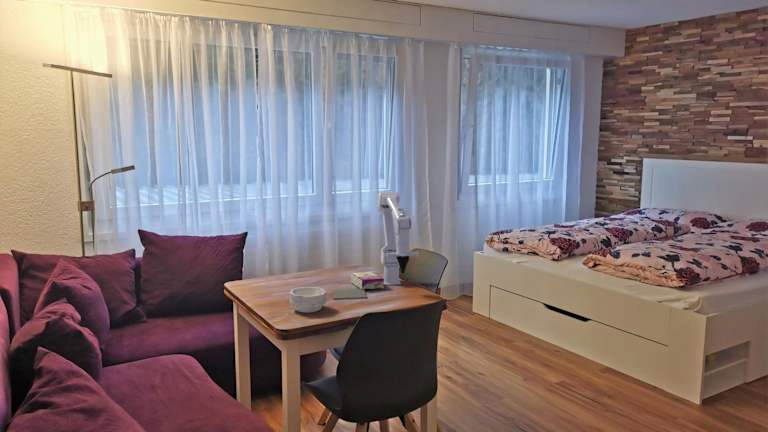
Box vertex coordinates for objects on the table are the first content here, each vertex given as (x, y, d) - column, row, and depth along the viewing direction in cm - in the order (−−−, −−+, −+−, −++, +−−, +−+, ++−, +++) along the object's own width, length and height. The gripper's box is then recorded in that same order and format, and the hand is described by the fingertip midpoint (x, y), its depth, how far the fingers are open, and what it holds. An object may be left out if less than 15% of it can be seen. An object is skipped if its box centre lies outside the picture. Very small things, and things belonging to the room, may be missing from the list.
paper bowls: (334, 309, 247) (334, 291, 246) (304, 317, 236) (304, 298, 235) (311, 302, 258) (311, 284, 256) (282, 309, 247) (282, 290, 246)
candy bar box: (384, 289, 278) (371, 281, 293) (384, 278, 277) (372, 271, 292) (361, 290, 274) (350, 282, 289) (361, 279, 273) (350, 272, 288)
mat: (332, 290, 275) (332, 289, 275) (363, 289, 277) (363, 288, 276) (333, 299, 261) (333, 298, 261) (366, 298, 263) (366, 297, 263)
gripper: (387, 245, 264) (387, 275, 266) (420, 244, 265) (419, 274, 267) (385, 242, 271) (385, 271, 272) (417, 241, 272) (417, 270, 274)
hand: (402, 272), depth 270 cm, fingers closed
